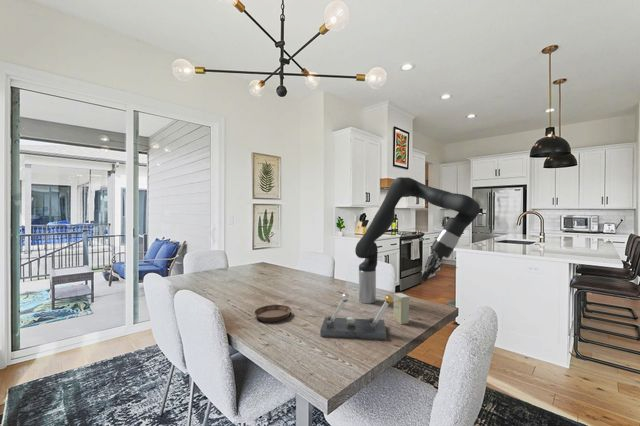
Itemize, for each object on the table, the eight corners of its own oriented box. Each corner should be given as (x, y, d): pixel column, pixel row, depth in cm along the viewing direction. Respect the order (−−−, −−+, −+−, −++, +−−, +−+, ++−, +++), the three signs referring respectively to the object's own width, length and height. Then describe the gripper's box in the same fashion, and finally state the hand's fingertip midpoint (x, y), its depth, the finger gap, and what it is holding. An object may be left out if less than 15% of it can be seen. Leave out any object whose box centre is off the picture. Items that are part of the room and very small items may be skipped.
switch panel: (325, 322, 133) (325, 312, 133) (384, 325, 129) (383, 315, 129) (320, 336, 119) (320, 325, 119) (386, 340, 115) (386, 328, 115)
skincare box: (393, 319, 136) (392, 293, 136) (401, 318, 137) (401, 292, 137) (401, 324, 130) (401, 297, 130) (409, 323, 132) (409, 296, 131)
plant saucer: (252, 312, 147) (252, 306, 147) (287, 308, 153) (286, 302, 153) (256, 326, 131) (256, 319, 131) (295, 320, 137) (295, 314, 136)
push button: (347, 321, 126) (346, 316, 126) (355, 321, 126) (355, 317, 126) (346, 324, 123) (346, 320, 123) (355, 324, 122) (355, 320, 122)
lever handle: (370, 320, 125) (387, 293, 123) (376, 324, 124) (392, 296, 123) (371, 324, 121) (388, 296, 120) (376, 327, 121) (393, 299, 119)
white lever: (328, 318, 128) (344, 291, 126) (333, 322, 127) (349, 295, 126) (327, 322, 124) (343, 294, 122) (332, 325, 123) (349, 297, 122)
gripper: (433, 236, 124) (412, 271, 126) (440, 241, 111) (416, 280, 113) (449, 245, 123) (428, 280, 125) (458, 251, 110) (434, 290, 112)
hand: (422, 280), depth 119 cm, fingers closed
